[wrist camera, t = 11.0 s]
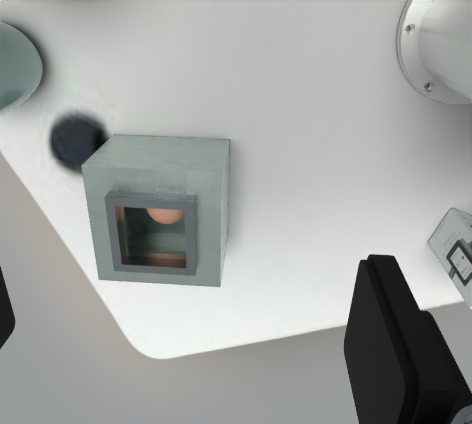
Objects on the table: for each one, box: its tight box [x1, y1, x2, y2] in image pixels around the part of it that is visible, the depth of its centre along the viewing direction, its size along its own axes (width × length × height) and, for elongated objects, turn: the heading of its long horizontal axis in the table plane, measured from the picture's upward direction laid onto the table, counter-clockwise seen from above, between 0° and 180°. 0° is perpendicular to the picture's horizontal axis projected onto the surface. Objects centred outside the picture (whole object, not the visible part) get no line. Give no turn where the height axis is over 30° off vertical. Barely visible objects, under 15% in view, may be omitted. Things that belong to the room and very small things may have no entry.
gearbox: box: [81, 134, 230, 287], centre depth 43 cm, size 12×14×10 cm
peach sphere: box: [146, 208, 185, 224], centre depth 44 cm, size 4×4×4 cm
